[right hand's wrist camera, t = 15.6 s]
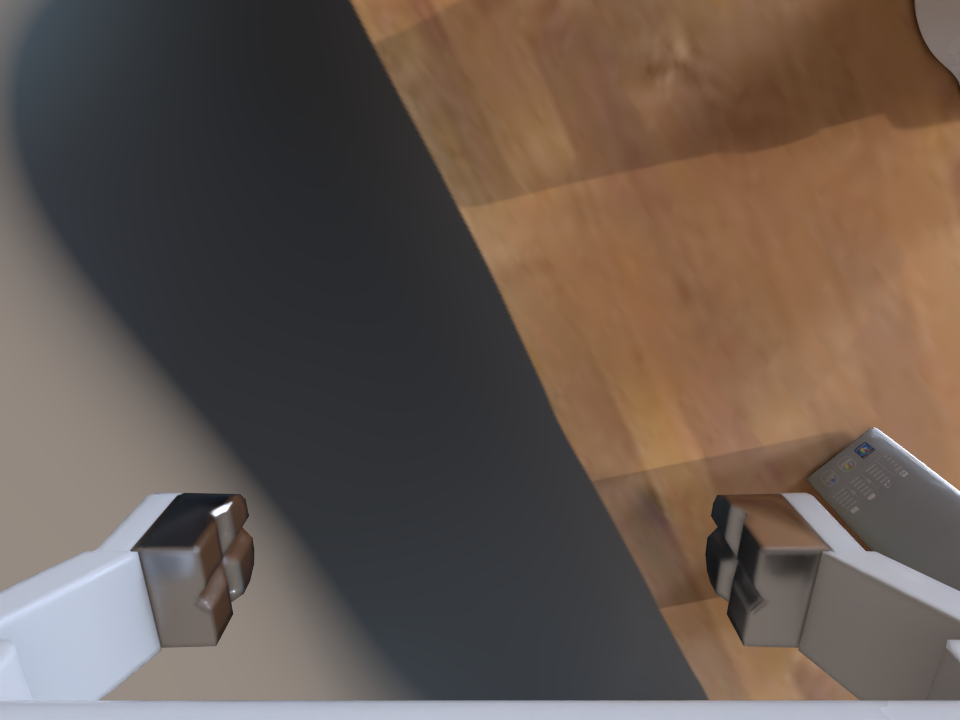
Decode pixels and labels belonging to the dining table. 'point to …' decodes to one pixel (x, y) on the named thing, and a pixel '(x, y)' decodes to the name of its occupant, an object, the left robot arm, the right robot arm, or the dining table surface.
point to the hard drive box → (895, 505)
